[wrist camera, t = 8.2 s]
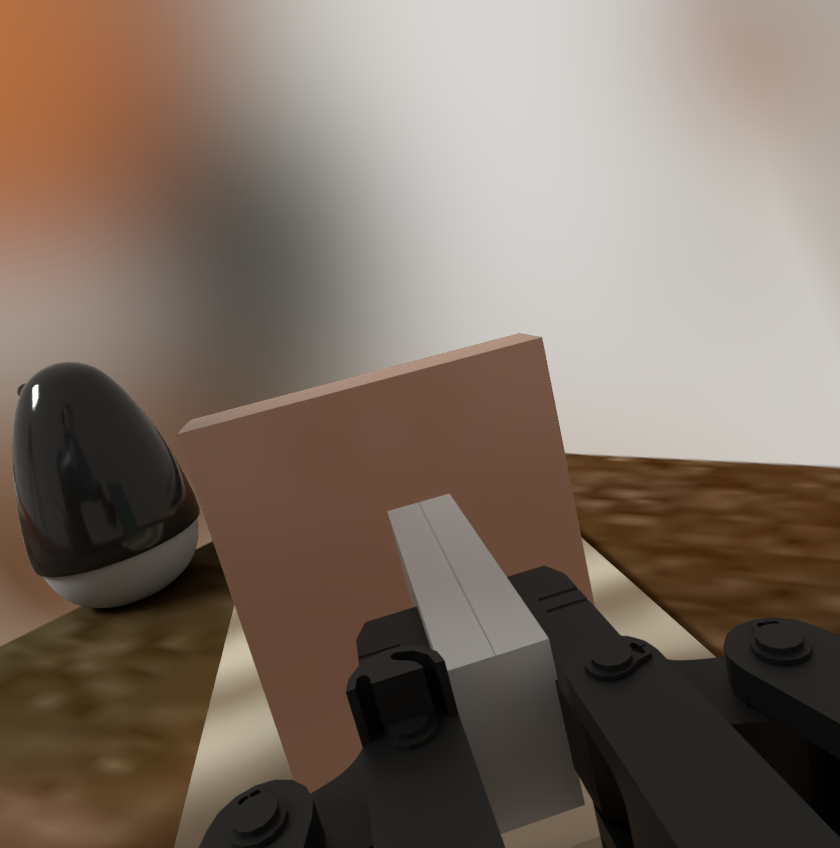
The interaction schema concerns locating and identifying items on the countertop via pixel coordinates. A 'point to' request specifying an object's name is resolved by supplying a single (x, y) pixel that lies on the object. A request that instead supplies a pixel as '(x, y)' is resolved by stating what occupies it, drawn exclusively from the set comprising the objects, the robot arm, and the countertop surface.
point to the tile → (372, 513)
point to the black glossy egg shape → (98, 490)
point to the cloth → (265, 758)
